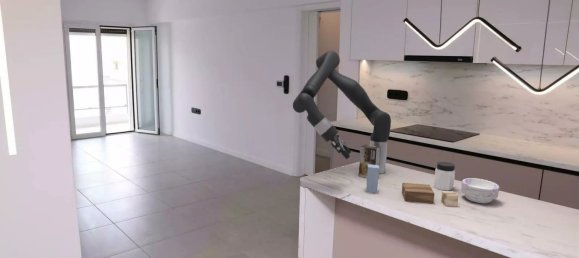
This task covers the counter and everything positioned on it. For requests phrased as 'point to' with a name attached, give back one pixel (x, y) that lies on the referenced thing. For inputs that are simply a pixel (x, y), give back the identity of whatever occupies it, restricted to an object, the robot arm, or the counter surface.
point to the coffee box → (368, 158)
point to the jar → (444, 176)
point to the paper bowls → (479, 190)
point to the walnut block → (417, 193)
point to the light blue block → (372, 178)
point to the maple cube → (449, 198)
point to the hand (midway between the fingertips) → (349, 155)
